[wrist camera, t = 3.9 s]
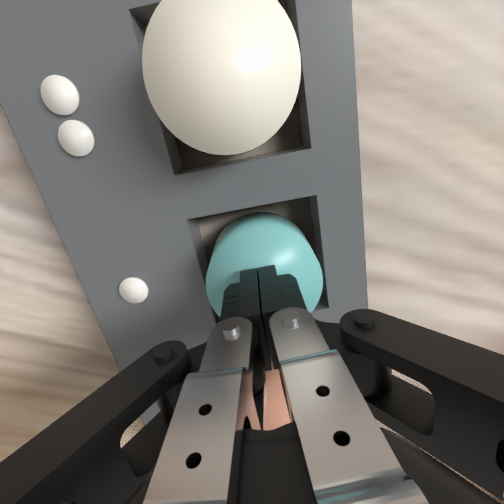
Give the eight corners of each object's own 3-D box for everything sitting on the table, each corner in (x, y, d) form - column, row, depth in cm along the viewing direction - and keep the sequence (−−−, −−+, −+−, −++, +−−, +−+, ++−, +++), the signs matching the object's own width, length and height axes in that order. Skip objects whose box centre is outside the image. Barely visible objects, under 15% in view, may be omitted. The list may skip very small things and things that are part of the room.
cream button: (279, -2, 11) (289, -47, 8) (296, 138, 13) (309, 139, 10) (150, 26, 12) (118, -7, 9) (185, 160, 13) (168, 167, 11)
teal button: (303, 203, 15) (316, 219, 12) (314, 292, 16) (328, 324, 14) (202, 222, 15) (192, 242, 12) (224, 307, 17) (220, 342, 14)
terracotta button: (322, 342, 17) (336, 383, 14) (330, 406, 19) (344, 453, 16) (235, 355, 17) (233, 398, 15) (251, 417, 19) (252, 466, 16)
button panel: (329, -80, 12) (346, -126, 10) (363, 408, 21) (376, 438, 19) (-10, 1, 12) (-61, -25, 10) (169, 437, 22) (161, 468, 20)
